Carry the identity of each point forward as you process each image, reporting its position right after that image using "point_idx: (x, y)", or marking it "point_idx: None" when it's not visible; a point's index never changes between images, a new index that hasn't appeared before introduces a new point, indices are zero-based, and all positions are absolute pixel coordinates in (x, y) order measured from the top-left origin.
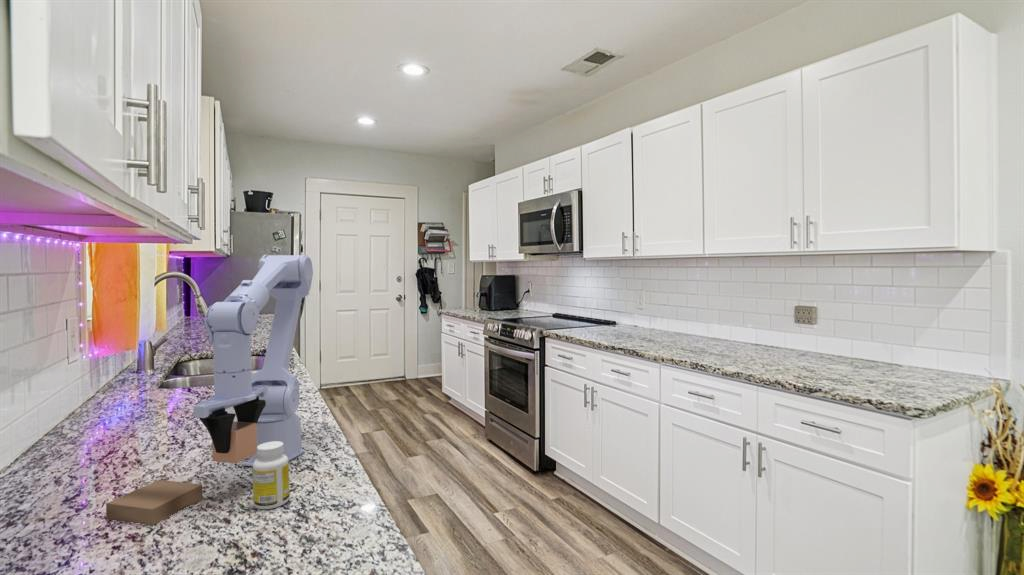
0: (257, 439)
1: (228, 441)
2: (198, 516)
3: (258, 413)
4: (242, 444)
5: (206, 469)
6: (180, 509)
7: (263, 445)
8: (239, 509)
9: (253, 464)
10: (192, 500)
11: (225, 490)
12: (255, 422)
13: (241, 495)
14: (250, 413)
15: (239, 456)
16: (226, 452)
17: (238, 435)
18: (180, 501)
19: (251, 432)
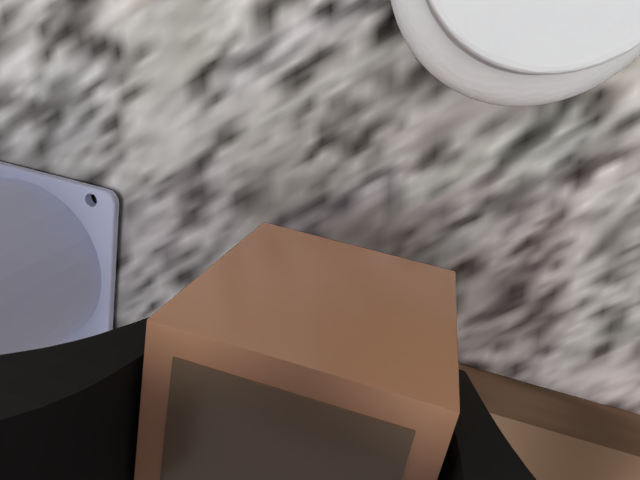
0: (8, 350)
1: (472, 411)
2: (620, 292)
3: (22, 373)
4: (382, 303)
5: None
6: (553, 395)
7: (562, 8)
8: (564, 136)
9: (614, 73)
10: (495, 383)
11: None
12: (109, 347)
13: (403, 208)
14: (68, 458)
15: (421, 277)
16: (465, 372)
17: (424, 366)
18: (559, 417)
19: (250, 306)
